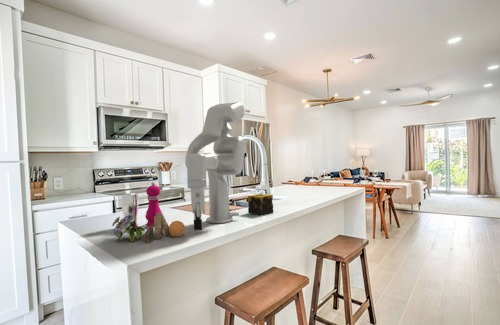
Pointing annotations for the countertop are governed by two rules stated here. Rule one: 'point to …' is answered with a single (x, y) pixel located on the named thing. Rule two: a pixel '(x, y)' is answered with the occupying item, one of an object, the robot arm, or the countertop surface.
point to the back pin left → (157, 227)
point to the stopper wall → (148, 234)
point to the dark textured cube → (260, 204)
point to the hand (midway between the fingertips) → (198, 229)
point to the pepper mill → (152, 203)
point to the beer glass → (130, 205)
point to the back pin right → (161, 226)
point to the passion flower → (127, 227)
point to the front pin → (164, 225)
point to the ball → (176, 228)
